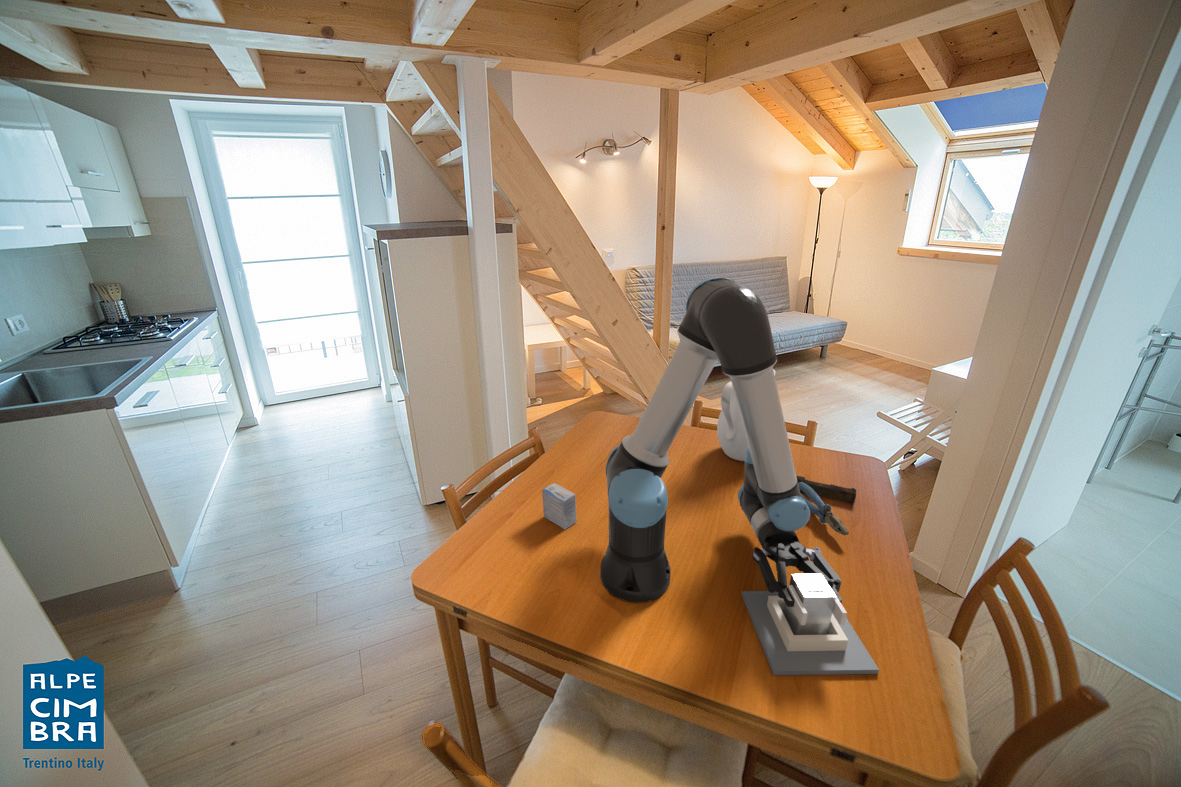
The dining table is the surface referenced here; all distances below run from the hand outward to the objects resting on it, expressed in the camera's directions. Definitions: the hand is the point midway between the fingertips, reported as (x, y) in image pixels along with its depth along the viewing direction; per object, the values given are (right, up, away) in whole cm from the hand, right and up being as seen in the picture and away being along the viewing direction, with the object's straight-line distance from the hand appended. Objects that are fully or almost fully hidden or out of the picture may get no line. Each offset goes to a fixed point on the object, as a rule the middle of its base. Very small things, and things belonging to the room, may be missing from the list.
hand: (823, 618), depth 82 cm
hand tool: (+22, +10, +50) cm, 55 cm away
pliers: (+18, +6, +40) cm, 44 cm away
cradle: (0, -6, +8) cm, 10 cm away
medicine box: (-48, +6, +40) cm, 63 cm away
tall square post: (0, -5, +8) cm, 9 cm away
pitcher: (+6, +18, +70) cm, 72 cm away
